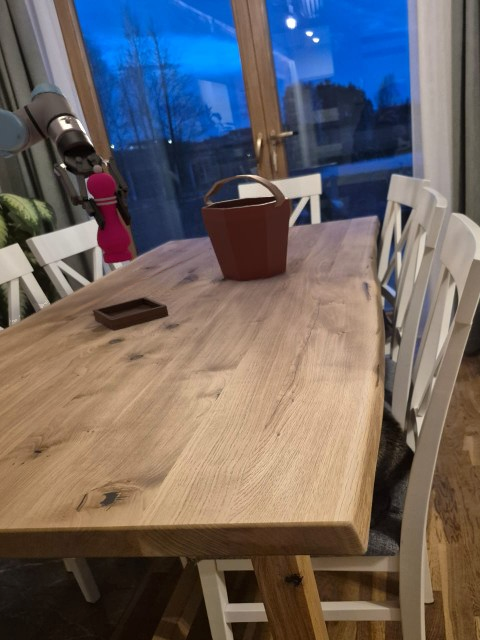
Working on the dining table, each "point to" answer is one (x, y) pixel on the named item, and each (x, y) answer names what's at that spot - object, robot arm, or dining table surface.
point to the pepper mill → (109, 218)
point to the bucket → (249, 232)
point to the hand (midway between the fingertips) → (115, 223)
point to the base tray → (130, 313)
